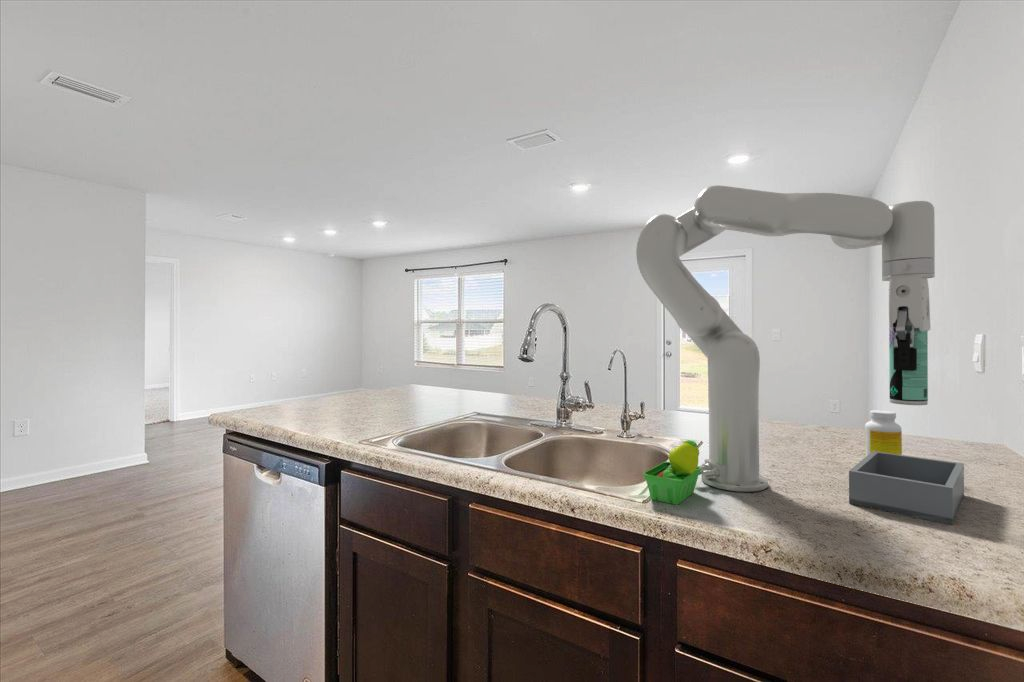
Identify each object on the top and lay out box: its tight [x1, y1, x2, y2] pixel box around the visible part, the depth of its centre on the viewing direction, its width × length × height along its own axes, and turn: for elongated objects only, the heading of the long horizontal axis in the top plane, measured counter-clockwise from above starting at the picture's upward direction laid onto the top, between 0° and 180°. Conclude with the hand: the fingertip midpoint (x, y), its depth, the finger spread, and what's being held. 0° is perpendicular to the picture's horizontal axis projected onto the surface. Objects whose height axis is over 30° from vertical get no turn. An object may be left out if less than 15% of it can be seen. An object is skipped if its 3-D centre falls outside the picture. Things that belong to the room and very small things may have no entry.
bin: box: [848, 451, 965, 526], centre depth 90 cm, size 20×14×6 cm
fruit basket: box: [643, 439, 701, 506], centre depth 93 cm, size 11×9×11 cm
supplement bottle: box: [864, 409, 903, 458], centre depth 110 cm, size 7×7×13 cm
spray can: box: [888, 307, 929, 406], centre depth 89 cm, size 6×6×20 cm
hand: (908, 368), depth 89 cm, fingers closed on spray can, 5 cm apart
